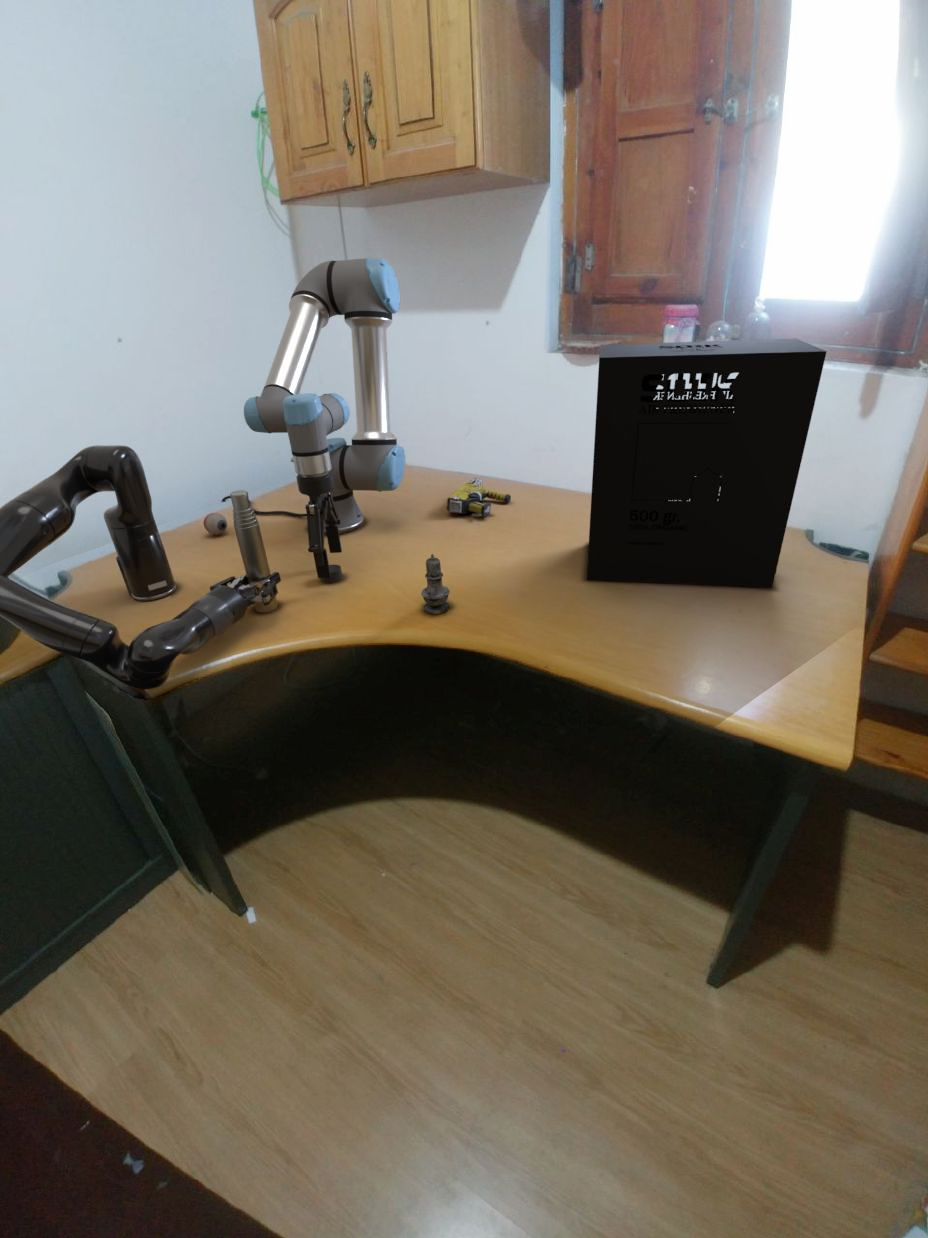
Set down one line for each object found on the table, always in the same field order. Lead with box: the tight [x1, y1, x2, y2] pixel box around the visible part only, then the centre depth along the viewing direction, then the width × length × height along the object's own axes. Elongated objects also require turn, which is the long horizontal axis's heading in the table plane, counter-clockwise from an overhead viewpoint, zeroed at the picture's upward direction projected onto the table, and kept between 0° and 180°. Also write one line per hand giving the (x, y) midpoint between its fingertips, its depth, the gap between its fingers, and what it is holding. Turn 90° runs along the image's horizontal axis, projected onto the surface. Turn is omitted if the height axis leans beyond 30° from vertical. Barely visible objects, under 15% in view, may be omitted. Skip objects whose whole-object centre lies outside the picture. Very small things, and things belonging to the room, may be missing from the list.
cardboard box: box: [586, 338, 828, 589], centre depth 126 cm, size 38×20×45 cm, turn 78°
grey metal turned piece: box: [420, 553, 451, 614], centre depth 122 cm, size 6×6×12 cm
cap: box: [322, 564, 343, 584], centre depth 139 cm, size 4×4×3 cm
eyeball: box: [203, 512, 228, 536], centre depth 166 cm, size 6×6×6 cm
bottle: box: [229, 489, 279, 614], centre depth 122 cm, size 5×5×25 cm
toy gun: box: [446, 477, 512, 518], centre depth 177 cm, size 5×24×15 cm
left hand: (267, 574), depth 128 cm, fingers closed on bottle, 4 cm apart
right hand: (330, 564), depth 138 cm, fingers open, 13 cm apart
